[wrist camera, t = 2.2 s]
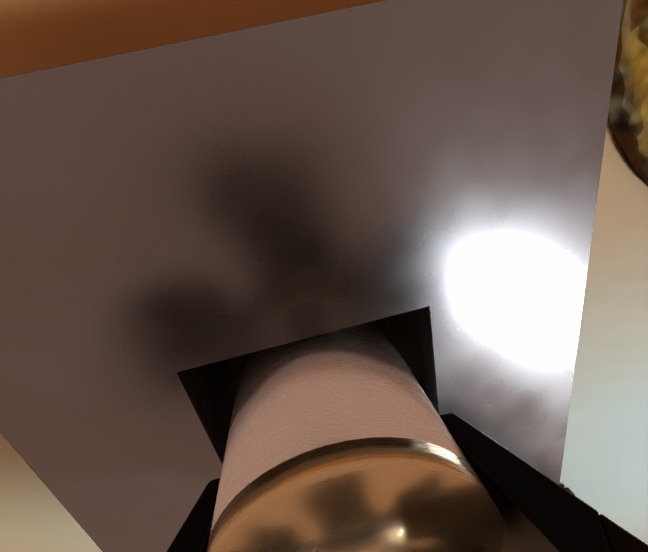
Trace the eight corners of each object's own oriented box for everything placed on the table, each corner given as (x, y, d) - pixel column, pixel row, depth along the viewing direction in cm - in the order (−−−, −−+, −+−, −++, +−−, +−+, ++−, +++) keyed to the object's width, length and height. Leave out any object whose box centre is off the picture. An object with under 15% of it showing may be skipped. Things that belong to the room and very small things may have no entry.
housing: (481, 444, 18) (551, 542, 13) (215, 522, 17) (192, 656, 12) (474, 44, 10) (629, -50, 6) (1, 145, 10) (-258, 131, 5)
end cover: (387, 378, 15) (502, 607, 7) (267, 411, 14) (255, 687, 7) (368, 266, 13) (507, 427, 5) (226, 302, 12) (140, 533, 5)
